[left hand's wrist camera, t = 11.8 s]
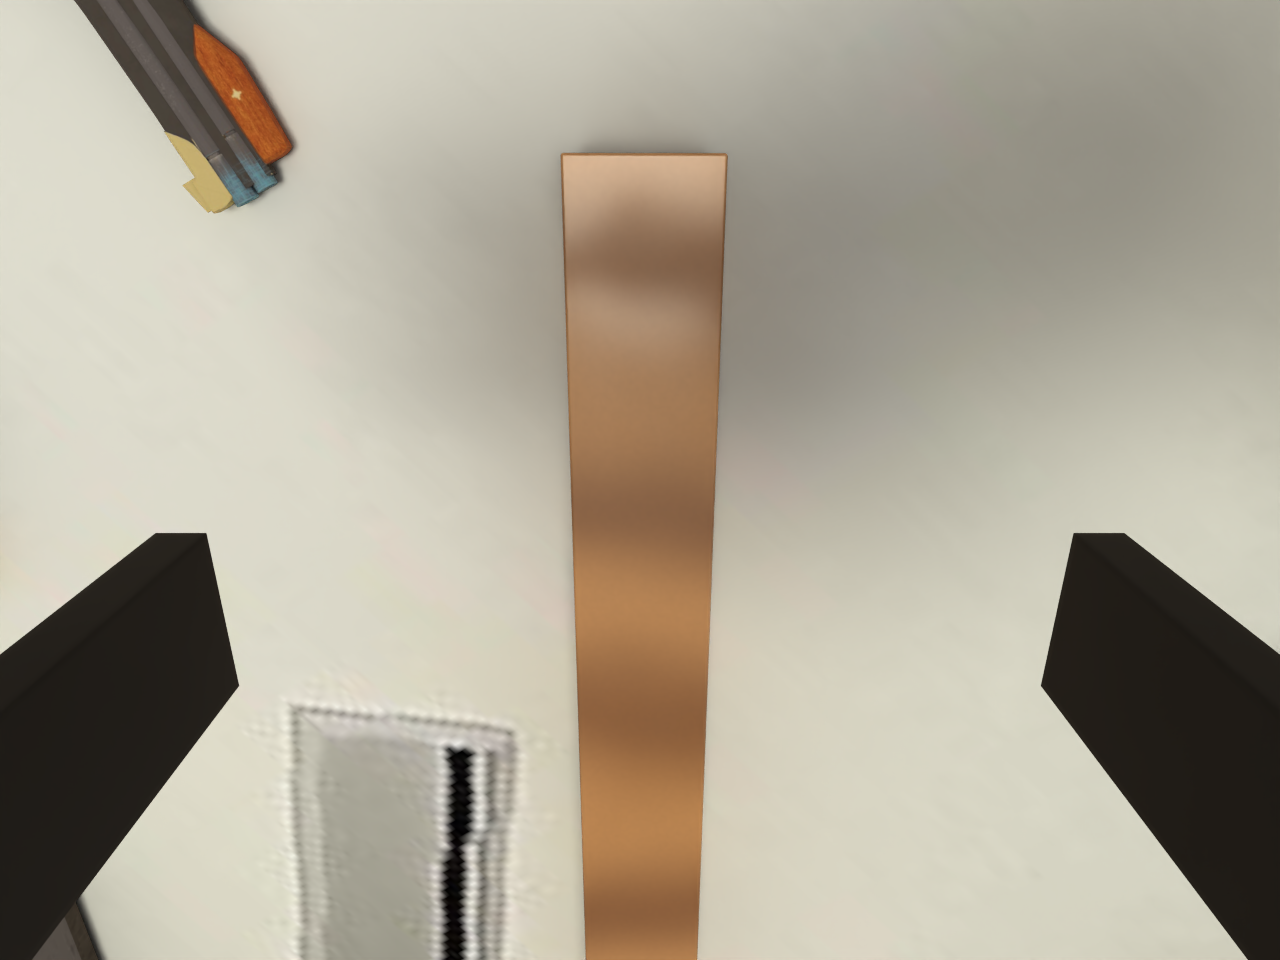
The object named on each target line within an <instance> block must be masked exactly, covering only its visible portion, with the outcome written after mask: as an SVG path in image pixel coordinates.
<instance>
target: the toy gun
mask: <svg viewBox="0 0 1280 960" xmlns="http://www.w3.org/2000/svg"><path fill="white" fill-rule="evenodd" d="M74 1H75V2H76V3H77V5H78V6H79V7H80V9H81V10H82V11H83V13H84V14H85V15H86V17H87V18H88V20H89V21H90V23H91V24H92V25H93V27H94V28H95V30H96V31H97V33H98V34H99V35H100V37H101V38H102V40H103V41H104V43H105V44H106V46H107V47H108V48H109V50H110V51H111V53H112V54H113V56H114V57H115V58H116V60H117V61H118V63H119V64H120V66H121V67H122V69H123V70H124V71H125V73H126V74H127V76H128V77H129V79H130V80H131V81H132V83H133V84H134V86H135V87H136V89H137V90H138V92H139V93H140V94H141V96H142V97H143V99H144V100H145V102H146V103H147V105H148V106H149V107H150V109H151V110H152V112H153V113H154V115H155V116H156V118H157V119H158V121H159V122H160V124H161V125H162V127H163V128H164V130H165V131H164V132H165V133H166V135H167V137H168V138H169V140H170V141H171V143H172V144H173V146H174V147H175V149H176V150H177V152H178V153H179V155H180V156H181V158H182V159H183V161H184V162H185V163H186V165H187V166H188V168H189V169H190V171H191V172H192V174H193V175H194V177H195V178H194V179H192V180H191V181H189V182H187V183H186V184H184V185H183V186H184V188H185V189H186V190H187V191H188V192H189V193H190V194H191V195H192V196H193V197H194V198H195V199H196V200H197V201H198V203H199V204H200V205H201V206H202V207H203V208H204V209H205V210H206V211H207V212H210V211H212V212H213V213H218V212H222V211H223V210H225V209H227V208H229V207H230V206H231V205H232V204H234V203H235V204H236V206H237V207H240V206H243V205H245V204H247V203H249V202H250V201H252V200H254V199H256V198H257V197H258V196H259V194H258V193H260V192H262V191H264V190H266V189H268V188H270V187H272V186H274V185H275V184H277V183H278V182H277V180H276V178H275V177H274V175H275V174H277V173H276V172H275V170H274V169H273V167H272V165H271V163H273V162H275V161H276V160H278V159H280V158H282V157H283V156H285V155H287V154H288V153H289V151H290V150H291V148H292V146H291V144H290V142H289V140H288V138H287V136H286V135H285V133H284V131H283V129H282V128H281V126H280V124H279V123H278V121H277V119H276V117H275V116H274V114H273V112H272V110H271V109H270V107H269V105H268V104H267V102H266V100H265V99H264V97H263V95H262V94H261V92H260V91H259V89H258V87H257V86H256V84H255V82H254V81H253V79H252V77H251V76H250V74H249V72H248V71H247V69H246V67H245V66H244V64H243V62H242V61H241V60H240V58H239V57H238V56H237V55H236V54H235V53H234V52H232V51H231V50H230V49H229V48H227V47H226V46H225V45H223V44H222V43H221V42H220V41H218V40H217V39H216V38H215V37H213V36H212V35H211V34H209V33H208V32H207V31H206V30H204V29H203V28H202V27H201V26H199V25H198V24H197V22H196V20H195V19H194V17H193V16H192V14H191V13H190V11H189V10H188V8H187V6H186V5H185V3H184V2H183V0H74ZM254 188H255V189H254ZM256 191H257V192H258V193H257V192H256Z"/></svg>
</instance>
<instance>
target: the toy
mask: <svg viewBox="0 0 1280 960" xmlns="http://www.w3.org/2000/svg"><path fill="white" fill-rule="evenodd" d="M32 960H98V958H97V955H96V953H95V950H94V948H93V945H92V943H91V940H90V937H89V935H88V932H87V930H86V927H85V925H84V922H83V920H82V917H81V914H80V912H79V909H78V907H77V904H76V902H75V904H74V905H73V906H72V908H71V909H70V910H69V912H68V913H67V914H66V916H65V917H64V918H63V919H62V921H61V922H60V923H59V925H58V926H57V927H56V929H55V930H54V931H53V933H52V934H51V935H50V937H49V938H48V939H47V941H46V942H45V943H44V945H43V946H42V947H41V949H40V950H39V951H38V953H37V954H36V955H35V957H34V958H33V959H32Z"/></svg>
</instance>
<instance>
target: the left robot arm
mask: <svg viewBox="0 0 1280 960" xmlns="http://www.w3.org/2000/svg"><path fill="white" fill-rule="evenodd" d="M238 687H239V683H238V679H237V674H236V669H235V665H234V660H233V655H232V651H231V646H230V641H229V637H228V632H227V627H226V623H225V618H224V613H223V609H222V604H221V599H220V595H219V590H218V585H217V581H216V576H215V571H214V567H213V562H212V557H211V553H210V548H209V543H208V539H207V534H206V533H155V534H154V535H153V536H151V537H150V538H149V539H148V540H146V541H145V542H144V543H142V544H141V545H140V546H139V547H137V548H136V549H135V550H134V551H132V552H131V553H130V554H128V555H127V556H126V557H125V558H123V559H122V560H121V561H119V562H118V563H117V564H116V565H114V566H113V567H112V568H110V569H109V570H108V571H107V572H105V573H104V574H103V575H101V576H100V577H99V578H98V579H96V580H95V581H94V582H93V583H91V584H90V585H89V586H87V587H86V588H85V589H84V590H82V591H81V592H80V593H78V594H77V595H76V596H75V597H73V598H72V599H71V600H69V601H68V602H67V603H66V604H64V605H63V606H62V607H60V608H59V609H58V610H57V611H55V612H54V613H53V614H52V615H50V616H49V617H48V618H46V619H45V620H44V621H43V622H41V623H40V624H39V625H37V626H36V627H35V628H34V629H32V630H31V631H30V632H28V633H27V634H26V635H25V636H23V637H22V638H21V639H20V640H18V641H17V642H16V643H14V644H13V645H12V646H11V647H9V648H8V649H7V650H5V651H4V652H3V653H2V654H0V960H32V959H33V958H34V957H35V955H36V954H37V953H38V951H39V950H40V949H41V947H42V946H43V945H44V943H45V942H46V941H47V939H48V938H49V937H50V935H51V934H52V933H53V931H54V930H55V929H56V927H57V926H58V925H59V923H60V922H61V921H62V919H63V918H64V917H65V916H66V914H67V913H68V912H69V910H70V909H71V908H72V906H73V905H74V904H75V902H76V901H77V900H78V898H79V897H80V896H81V894H82V893H83V892H84V890H85V889H86V888H87V886H88V885H89V884H90V882H91V881H92V880H93V878H94V877H95V876H96V874H97V873H98V872H99V870H100V869H101V868H102V867H103V865H104V864H105V863H106V861H107V860H108V859H109V857H110V856H111V855H112V853H113V852H114V851H115V849H116V848H117V847H118V845H119V844H120V843H121V841H122V840H123V839H124V837H125V836H126V835H127V833H128V832H129V831H130V829H131V828H132V827H133V825H134V824H135V823H136V822H137V820H138V819H139V818H140V816H141V815H142V814H143V812H144V811H145V810H146V808H147V807H148V806H149V804H150V803H151V802H152V800H153V799H154V798H155V796H156V795H157V794H158V792H159V791H160V790H161V788H162V787H163V786H164V784H165V783H166V782H167V780H168V779H169V778H170V777H171V775H172V774H173V773H174V771H175V770H176V769H177V767H178V766H179V765H180V763H181V762H182V761H183V759H184V758H185V757H186V755H187V754H188V753H189V751H190V750H191V749H192V747H193V746H194V745H195V743H196V742H197V741H198V739H199V738H200V737H201V735H202V734H203V733H204V732H205V730H206V729H207V728H208V726H209V725H210V724H211V722H212V721H213V720H214V718H215V717H216V716H217V714H218V713H219V712H220V710H221V709H222V708H223V706H224V705H225V704H226V702H227V701H228V700H229V698H230V697H231V696H232V694H233V693H234V692H235V690H236V689H237V688H238ZM1041 687H1042V688H1043V689H1044V690H1045V692H1046V693H1047V694H1048V696H1049V697H1050V698H1051V700H1052V701H1053V702H1054V704H1055V705H1056V706H1057V708H1058V709H1059V710H1060V712H1061V713H1062V714H1063V716H1064V717H1065V718H1066V720H1067V721H1068V722H1069V724H1070V725H1071V726H1072V728H1073V729H1074V730H1075V732H1076V733H1077V734H1078V735H1079V737H1080V738H1081V739H1082V741H1083V742H1084V743H1085V745H1086V746H1087V747H1088V749H1089V750H1090V751H1091V753H1092V754H1093V755H1094V757H1095V758H1096V759H1097V761H1098V762H1099V763H1100V765H1101V766H1102V767H1103V769H1104V770H1105V771H1106V773H1107V774H1108V775H1109V777H1110V778H1111V779H1112V780H1113V782H1114V783H1115V784H1116V786H1117V787H1118V788H1119V790H1120V791H1121V792H1122V794H1123V795H1124V796H1125V798H1126V799H1127V800H1128V802H1129V803H1130V804H1131V806H1132V807H1133V808H1134V810H1135V811H1136V812H1137V814H1138V815H1139V816H1140V818H1141V819H1142V820H1143V822H1144V823H1145V824H1146V825H1147V827H1148V828H1149V829H1150V831H1151V832H1152V833H1153V835H1154V836H1155V837H1156V839H1157V840H1158V841H1159V843H1160V844H1161V845H1162V847H1163V848H1164V849H1165V851H1166V852H1167V853H1168V855H1169V856H1170V857H1171V859H1172V860H1173V861H1174V863H1175V864H1176V865H1177V867H1178V868H1179V869H1180V870H1181V872H1182V873H1183V874H1184V876H1185V877H1186V878H1187V880H1188V881H1189V882H1190V884H1191V885H1192V886H1193V888H1194V889H1195V890H1196V892H1197V893H1198V894H1199V896H1200V897H1201V898H1202V900H1203V901H1204V902H1205V904H1206V905H1207V906H1208V908H1209V909H1210V910H1211V912H1212V913H1213V914H1214V916H1215V917H1216V918H1217V919H1218V921H1219V922H1220V923H1221V925H1222V926H1223V927H1224V929H1225V930H1226V931H1227V933H1228V934H1229V935H1230V937H1231V938H1232V939H1233V941H1234V942H1235V943H1236V945H1237V946H1238V947H1239V949H1240V950H1241V951H1242V953H1243V954H1244V955H1245V957H1246V958H1247V959H1248V960H1280V654H1278V653H1277V652H1276V651H1275V650H1273V649H1272V648H1271V647H1269V646H1268V645H1267V644H1266V643H1264V642H1263V641H1262V640H1260V639H1259V638H1258V637H1257V636H1255V635H1254V634H1253V633H1252V632H1250V631H1249V630H1248V629H1246V628H1245V627H1244V626H1243V625H1241V624H1240V623H1239V622H1237V621H1236V620H1235V619H1234V618H1232V617H1231V616H1230V615H1228V614H1227V613H1226V612H1225V611H1223V610H1222V609H1221V608H1220V607H1218V606H1217V605H1216V604H1214V603H1213V602H1212V601H1211V600H1209V599H1208V598H1207V597H1205V596H1204V595H1203V594H1202V593H1200V592H1199V591H1198V590H1196V589H1195V588H1194V587H1193V586H1191V585H1190V584H1189V583H1187V582H1186V581H1185V580H1184V579H1182V578H1181V577H1180V576H1179V575H1177V574H1176V573H1175V572H1173V571H1172V570H1171V569H1170V568H1168V567H1167V566H1166V565H1164V564H1163V563H1162V562H1161V561H1159V560H1158V559H1157V558H1155V557H1154V556H1153V555H1152V554H1150V553H1149V552H1148V551H1146V550H1145V549H1144V548H1143V547H1141V546H1140V545H1139V544H1138V543H1136V542H1135V541H1134V540H1132V539H1131V538H1130V537H1129V536H1127V535H1126V534H1125V533H1074V534H1073V539H1072V543H1071V548H1070V553H1069V557H1068V562H1067V567H1066V571H1065V576H1064V581H1063V585H1062V590H1061V595H1060V599H1059V604H1058V609H1057V613H1056V618H1055V623H1054V627H1053V632H1052V637H1051V641H1050V646H1049V651H1048V655H1047V660H1046V665H1045V669H1044V674H1043V679H1042V683H1041Z"/></svg>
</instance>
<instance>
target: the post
mask: <svg viewBox="0 0 1280 960" xmlns="http://www.w3.org/2000/svg"><path fill="white" fill-rule="evenodd" d="M727 159H728V156H727V154H726V153H562V154H561V182H562V214H563V246H564V278H565V310H566V342H567V374H568V405H569V437H570V469H571V501H572V533H573V565H574V597H575V629H576V661H577V692H578V724H579V756H580V788H581V820H582V852H583V884H584V916H585V947H586V960H697V948H698V922H699V895H700V869H701V843H702V816H703V790H704V764H705V738H706V711H707V685H708V659H709V632H710V606H711V580H712V554H713V527H714V501H715V475H716V448H717V422H718V396H719V370H720V343H721V317H722V291H723V265H724V238H725V212H726V186H727Z"/></svg>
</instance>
